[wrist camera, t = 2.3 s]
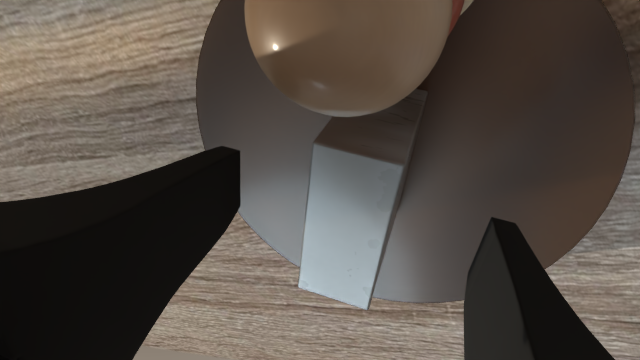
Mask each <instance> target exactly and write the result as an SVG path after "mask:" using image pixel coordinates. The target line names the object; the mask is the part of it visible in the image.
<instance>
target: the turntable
mask: <svg viewBox="0 0 640 360" xmlns="http://www.w3.org/2000/svg"><path fill="white" fill-rule="evenodd" d="M196 106H197V113H198V121H199V128H200V132H201V136H202V140H203V144H204V148H205V151H206V150H209V149H212V148H215V147H219V146H225V147H229V148H232V149H236V150H240V196H241V206H240V208H239V209H238V211H237V212H238V213H239V214H240V216H241V217H242V218H243V219H244V221H245V222H246V223H247V224H248V225H249V226H250V227H251V228H252V229H253V230H254V232H255V233H256V234H257V235H258V236H259V237H260V238H261V239H262V240H264V241H265V242H266V243H267V244H268V245H269V246H270V247H272V248H273V249H274V250H275V251H276V252H277V253H279V254H280V255H282V256H283V257H284V258H286V259H287V260H289V261H290V262H291V263H293V264H294V265H296V266H298V267H299V268H300V270H299V279H298V287H299V288H301V289H304V290H307V291H310V292H313V293H316V294H319V295H322V296H325V297H328V298H331V299H334V300H337V301H341V302H344V303H347V304H350V305H353V306H356V307H359V308H362V309H365V310H368V309H369V307H370V303H371V300H372V297H373V298H378V299H384V300H390V301H397V302H408V303H443V302H452V301H461V300H465V291H466V283H467V275H468V271H469V269H470V266H471V264H472V261H473V259H474V257H475V254H476V252H477V250H478V247H479V245H480V242H481V240H482V238H483V235H484V233H485V231H486V228H487V226H488V223H489V221H490V219H491V217H494V218H498V219H502V220H506V221H509V222H513V223H516V224H517V226H518V227H519V229H520V231H521V232H522V234H523V236H524V237H525V239H526V241H527V242H528V244H529V246H530V247H531V249H532V251H533V252H534V254H535V256H536V257H537V259H538V260H539V262H540V264H541V265H542V267H543V268H544V269H546V268H547V267H549V266H551V265H552V264H554V263H555V262H556V261H557V260H559V259H560V258H561V257H562V256H564V255H565V254H566V253H567V252H569V251H570V250H571V249H572V248H573V247H574V246H575V245H576V244H577V243H578V242H579V241H580V240H581V239H582V238H583V237H584V236H585V235H586V234H587V233H588V232H589V231H590V230H591V229H592V227H593V226H594V224H595V223H596V222H597V220H598V219H599V217H600V216H601V215H602V213H603V212H604V210H605V209H606V208H607V206H608V204H609V202H610V200H611V199H612V197H613V195H614V193H615V191H616V189H617V187H618V185H619V183H620V181H621V178H622V175H623V172H624V169H625V166H626V163H627V160H628V157H629V154H630V150H631V143H632V136H633V129H634V123H635V106H634V85H633V80H632V75H631V70H630V65H629V60H628V55H627V53H626V50H625V48H624V45H623V42H622V40H621V37H620V35H619V32H618V30H617V27H616V25H615V22H614V20H613V19H612V17H611V16H610V14H609V12H608V11H607V9H606V7H605V6H604V4H603V2H602V1H601V0H221V1H220V2H219V4H218V6H217V7H216V9H215V12H214V14H213V16H212V19H211V21H210V24H209V26H208V28H207V31H206V33H205V37H204V41H203V45H202V49H201V52H200V56H199V63H198V71H197V79H196Z"/></svg>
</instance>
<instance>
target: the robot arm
mask: <svg viewBox="0 0 640 360" xmlns="http://www.w3.org/2000/svg"><path fill="white" fill-rule="evenodd" d="M240 206H241V196H240V150H236V149H232V148H229V147H225V146H219V147H215V148H212V149H209V150H206V151H203V152H201V153H198V154H195V155H193V156H190V157H187V158H185V159H182V160H179V161H176V162H174V163H171V164H168V165H166V166H163V167H160V168H157V169H154V170H151V171H148V172H145V173H142V174H139V175H136V176H133V177H130V178H127V179H123V180H120V181H116V182H113V183H109V184H105V185H101V186H97V187H93V188H89V189H84V190H80V191H74V192H69V193H63V194H57V195H52V196H46V197H40V198H33V199H26V200H18V201H9V202H0V360H132V359H133V358H134V356H135V354H136V352H137V351H138V349H139V348H140V346H141V345H142V343H143V341H144V340H145V338H146V337H147V335H148V333H149V332H150V330H151V328H152V327H153V325H154V324H155V322H156V321H157V319H158V318H159V316H160V315H161V313H162V312H163V310H164V309H165V307H166V306H167V304H168V302H169V301H170V299H171V298H172V297H173V295H174V294H175V293H176V291H177V290H178V289H179V287H180V286H181V285H182V283H183V282H184V281H185V280H186V279H187V277H188V276H189V275H190V274H191V273H192V271H193V270H194V269H195V268H196V267H197V265H198V264H199V263H200V262H201V261H202V259H203V258H204V257H205V256H206V255H207V253H208V252H209V251H210V250H211V248H212V247H213V246H214V245H215V244H216V242H217V241H218V240H219V239H220V237H221V236H222V235H223V234H224V232H225V231H226V229H227V228H228V226H229V224H230V223H231V221H232V220H233V218H234V216H235V214H236V213H237V211H238V209H239V208H240ZM464 358H465V360H615V359H614V358H613V357H612V356H611V355H610V354H609V353H608V351H607V350H606V349H605V348H604V347H603V346H602V345H601V343H600V342H599V341H598V340H597V339H596V338H595V337H594V335H593V334H592V333H591V332H590V331H589V330H588V328H587V327H586V326H585V325H584V324H583V322H582V321H581V320H580V319H579V317H578V316H577V315H576V313H575V312H574V311H573V309H572V308H571V307H570V305H569V304H568V303H567V301H566V300H565V299H564V297H563V296H562V295H561V293H560V292H559V290H558V289H557V288H556V286H555V285H554V283H553V282H552V280H551V279H550V277H549V276H548V274H547V273H546V271H545V270H544V268H543V267H542V265H541V264H540V262H539V260H538V259H537V257H536V256H535V254H534V252H533V251H532V249H531V247H530V246H529V244H528V242H527V241H526V239H525V237H524V236H523V234H522V232H521V231H520V229H519V227H518V226H517V224H516V223H513V222H509V221H506V220H502V219H498V218H494V217H491V219H490V221H489V223H488V226H487V228H486V231H485V233H484V235H483V238H482V240H481V242H480V245H479V247H478V250H477V252H476V254H475V257H474V259H473V261H472V264H471V266H470V269H469V271H468V275H467V283H466V291H465V300H464Z"/></svg>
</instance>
